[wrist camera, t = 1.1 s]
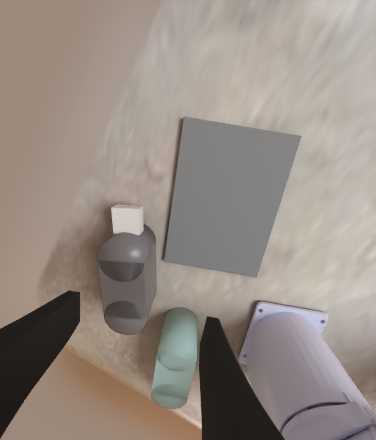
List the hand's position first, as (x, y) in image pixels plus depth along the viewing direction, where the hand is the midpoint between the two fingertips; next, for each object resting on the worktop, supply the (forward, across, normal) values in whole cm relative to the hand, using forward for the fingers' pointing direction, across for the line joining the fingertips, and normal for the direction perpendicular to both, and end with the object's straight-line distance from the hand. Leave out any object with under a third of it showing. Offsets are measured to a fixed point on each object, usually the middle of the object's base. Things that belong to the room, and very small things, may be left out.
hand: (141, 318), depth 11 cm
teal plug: (+10, -3, +14) cm, 17 cm away
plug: (+10, +3, +2) cm, 11 cm away
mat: (+10, -5, -5) cm, 12 cm away
